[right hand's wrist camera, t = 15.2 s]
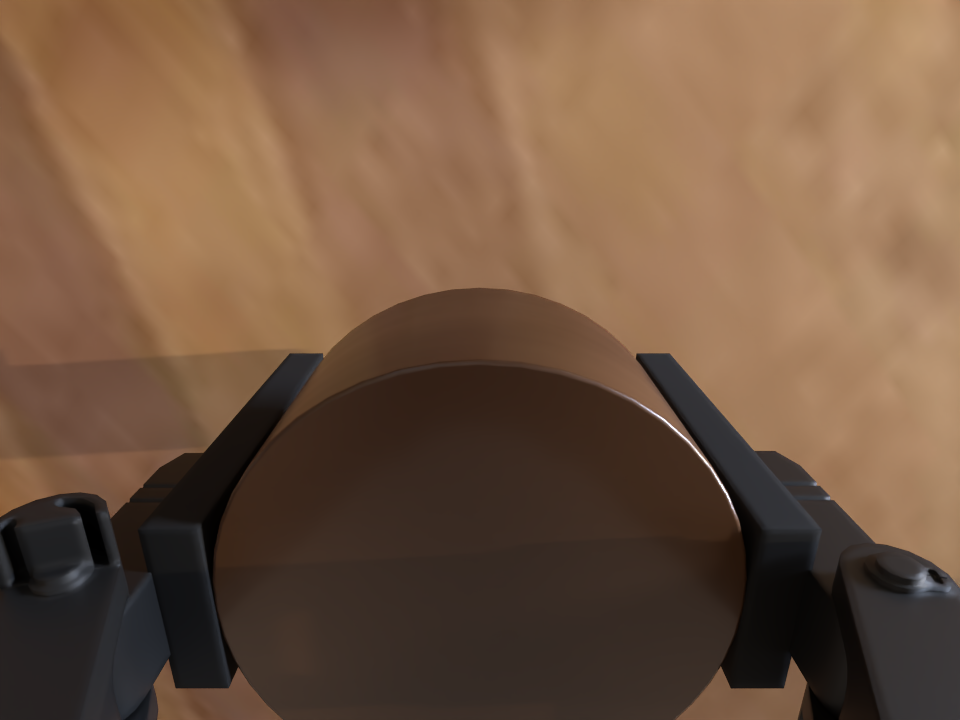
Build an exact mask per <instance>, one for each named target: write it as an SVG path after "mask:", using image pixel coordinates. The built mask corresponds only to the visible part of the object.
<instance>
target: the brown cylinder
mask: <svg viewBox="0 0 960 720" xmlns="http://www.w3.org/2000/svg"><path fill="white" fill-rule="evenodd" d="M212 582H213V590H214V599H215V607H216V612H217V615H218V619H219V623H220V626H221V630H222V633H223V636H224V638H225V641H226V643H227V645H228V647H229V649H230V652H231V654H232V656H233V658H234V660H235V662H236V664H237V665H238V667H239V668H240V670H241V671H242V673H243V675H244V676H245V678H246V679H247V681H248V682H249V684H250V685H251V686H252V687H253V689H254V690H255V691H256V692H257V693H258V695H259V696H260V697H261V698H262V699H263V700H264V702H265V703H266V704H267V705H268V706H269V707H270V708H271V709H272V710H273V711H274V712H275V713H277V714H278V715H279V716H280V717H281V718H282V719H283V720H675V719H676V718H678V717H679V716H680V715H681V714H682V713H683V712H684V711H685V710H686V709H687V708H688V707H689V706H690V705H692V703H693V702H694V701H695V700H696V699H697V698H698V696H699V695H700V694H701V693H702V692H703V690H704V689H705V688H706V687H707V686H708V685H709V683H710V682H711V680H712V679H713V677H714V676H715V674H716V673H717V671H718V669H719V668H720V666H721V665H722V663H723V662H724V660H725V658H726V656H727V654H728V651H729V649H730V647H731V645H732V643H733V640H734V638H735V636H736V633H737V630H738V626H739V623H740V619H741V615H742V610H743V605H744V600H745V592H746V583H747V570H746V550H745V545H744V540H743V536H742V531H741V527H740V522H739V519H738V516H737V514H736V512H735V509H734V507H733V504H732V502H731V499H730V497H729V494H728V492H727V490H726V489H725V487H724V485H723V484H722V482H721V480H720V479H719V477H718V476H717V474H716V472H715V471H714V469H713V467H712V466H711V464H710V463H709V461H708V460H707V458H706V457H705V456H704V454H703V453H702V451H701V450H700V449H699V447H698V446H697V444H696V443H695V441H694V440H693V439H692V437H691V436H690V434H689V433H688V431H687V430H686V429H685V427H684V426H683V424H682V423H681V422H680V420H679V419H678V417H677V416H676V414H675V413H674V412H673V410H672V409H671V407H670V406H669V404H668V403H667V402H666V400H665V399H664V397H663V396H662V394H661V393H660V392H659V390H658V389H657V387H656V386H655V385H654V383H653V382H652V380H651V379H650V377H649V376H648V375H647V373H646V372H645V370H644V369H643V367H642V366H641V365H640V364H639V362H638V361H637V360H636V359H635V358H634V356H633V355H632V354H631V353H630V352H629V351H628V349H627V348H626V347H625V346H624V345H623V344H622V343H621V342H619V341H618V340H617V339H616V338H615V337H614V336H613V335H612V334H610V333H609V332H608V331H607V330H606V329H604V328H603V327H601V326H600V325H598V324H597V323H595V322H594V321H592V320H591V319H589V318H588V317H586V316H585V315H583V314H581V313H579V312H577V311H575V310H573V309H571V308H569V307H566V306H564V305H562V304H560V303H557V302H554V301H551V300H548V299H545V298H542V297H539V296H536V295H532V294H527V293H522V292H517V291H512V290H504V289H489V288H470V289H455V290H447V291H442V292H437V293H432V294H427V295H423V296H420V297H417V298H414V299H411V300H408V301H405V302H402V303H399V304H397V305H395V306H393V307H390V308H388V309H386V310H384V311H382V312H380V313H378V314H376V315H374V316H373V317H371V318H370V319H368V320H367V321H365V322H364V323H362V324H361V325H359V326H358V327H356V328H355V329H353V330H352V331H351V332H350V333H348V334H347V335H346V336H345V337H344V338H343V339H342V340H341V341H340V342H338V343H337V344H336V345H335V346H334V347H333V348H332V349H331V350H330V352H329V353H328V354H327V355H326V356H325V357H324V359H323V360H322V361H321V362H320V363H319V365H318V366H317V367H316V369H315V370H314V372H313V373H312V374H311V376H310V377H309V379H308V380H307V382H306V383H305V385H304V386H303V387H302V389H301V390H300V392H299V393H298V395H297V396H296V398H295V399H294V400H293V402H292V403H291V405H290V406H289V408H288V409H287V411H286V412H285V414H284V415H283V416H282V418H281V419H280V421H279V422H278V424H277V425H276V427H275V428H274V429H273V431H272V432H271V434H270V435H269V437H268V438H267V440H266V441H265V443H264V444H263V445H262V447H261V448H260V450H259V451H258V453H257V454H256V456H255V457H254V458H253V460H252V461H251V463H250V464H249V466H248V467H247V469H246V471H245V472H244V474H243V475H242V477H241V479H240V480H239V482H238V484H237V485H236V487H235V489H234V490H233V492H232V494H231V496H230V499H229V501H228V504H227V506H226V509H225V511H224V513H223V516H222V518H221V521H220V525H219V529H218V534H217V538H216V543H215V547H214V558H213V577H212Z"/></svg>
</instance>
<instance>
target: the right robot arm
mask: <svg viewBox="0 0 960 720" xmlns="http://www.w3.org/2000/svg"><path fill="white" fill-rule="evenodd" d="M322 360H323V354H289V355H288V356H287V358H286V359H285V360H284V361H283V362H282V363H281V364H280V366H279V367H278V368H277V369H276V370H275V371H274V373H273V374H272V375H271V376H270V377H269V378H268V379H267V381H266V382H265V383H264V384H263V385H262V386H261V388H260V389H259V390H258V391H257V392H256V393H255V394H254V396H253V397H252V398H251V399H250V400H249V401H248V403H247V404H246V405H245V406H244V407H243V408H242V409H241V411H240V412H239V413H238V414H237V415H236V416H235V418H234V419H233V420H232V421H231V422H230V423H229V424H228V426H227V427H226V428H225V429H224V430H223V431H222V433H221V434H220V435H219V436H218V437H217V438H216V440H215V441H214V442H213V443H212V444H211V445H210V446H209V448H208V449H207V450H206V451H205V452H204V453H184V454H183V455H181V456H179V457H177V458H176V459H174V460H172V461H170V462H169V463H167V464H165V465H164V466H162V467H160V468H159V469H158V470H157V471H156V472H155V473H154V474H153V475H152V476H151V477H150V478H149V479H148V480H147V482H146V483H145V484H144V486H143V488H140V489H139V490H138V491H137V492H136V493H135V494H134V495H133V496H132V497H131V498H130V502H129V503H125V504H124V505H123V507H122V508H121V509H120V510H119V511H118V512H117V513H116V514H115V515H114V516H113V517H112V518H111V519H110V515H109V511H108V507H107V504H106V501H105V500H103V499H102V498H100V497H99V496H98V495H94V494H87V493H69V494H59V495H55V496H51V497H47V498H43V499H39V500H35V501H33V502H30V503H28V504H25V505H23V506H20V507H18V508H16V509H13V510H11V511H10V512H8V513H6V514H5V515H3V516H2V517H0V720H157V716H158V704H157V697H156V693H155V689H154V686H153V684H154V682H155V680H156V678H157V677H158V675H159V673H160V672H161V670H162V668H163V667H164V665H165V663H166V662H167V660H168V658H169V662H170V666H171V671H172V675H173V679H174V683H175V687H176V688H229V686H230V684H231V682H232V679H233V677H234V675H235V673H236V671H237V668H238V665H237V664H236V662H235V660H234V658H233V656H232V654H231V652H230V649H229V647H228V645H227V643H226V641H225V638H224V636H223V633H222V630H221V626H220V623H219V619H218V615H217V612H216V607H215V599H214V590H213V582H212V577H213V558H214V547H215V543H216V538H217V534H218V529H219V525H220V521H221V518H222V516H223V513H224V511H225V509H226V506H227V504H228V501H229V499H230V496H231V494H232V492H233V490H234V489H235V487H236V485H237V484H238V482H239V480H240V479H241V477H242V475H243V474H244V472H245V471H246V469H247V467H248V466H249V464H250V463H251V461H252V460H253V458H254V457H255V456H256V454H257V453H258V451H259V450H260V448H261V447H262V445H263V444H264V443H265V441H266V440H267V438H268V437H269V435H270V434H271V432H272V431H273V429H274V428H275V427H276V425H277V424H278V422H279V421H280V419H281V418H282V416H283V415H284V414H285V412H286V411H287V409H288V408H289V406H290V405H291V403H292V402H293V400H294V399H295V398H296V396H297V395H298V393H299V392H300V390H301V389H302V387H303V386H304V385H305V383H306V382H307V380H308V379H309V377H310V376H311V374H312V373H313V372H314V370H315V369H316V367H317V366H318V365H319V363H320V362H321V361H322ZM636 360H637V361H638V362H639V364H640V365H641V366H642V367H643V369H644V370H645V372H646V373H647V375H648V376H649V377H650V379H651V380H652V382H653V383H654V385H655V386H656V387H657V389H658V390H659V392H660V393H661V394H662V396H663V397H664V399H665V400H666V402H667V403H668V404H669V406H670V407H671V409H672V410H673V412H674V413H675V414H676V416H677V417H678V419H679V420H680V422H681V423H682V424H683V426H684V427H685V429H686V430H687V431H688V433H689V434H690V436H691V437H692V439H693V440H694V441H695V443H696V444H697V446H698V447H699V449H700V450H701V451H702V453H703V454H704V456H705V457H706V458H707V460H708V461H709V463H710V464H711V466H712V467H713V469H714V471H715V472H716V474H717V476H718V477H719V479H720V480H721V482H722V484H723V485H724V487H725V489H726V490H727V492H728V494H729V497H730V499H731V502H732V504H733V507H734V509H735V512H736V514H737V516H738V519H739V522H740V527H741V531H742V536H743V540H744V545H745V550H746V570H747V583H746V592H745V600H744V605H743V610H742V615H741V619H740V623H739V626H738V630H737V633H736V636H735V638H734V640H733V643H732V645H731V647H730V649H729V651H728V654H727V656H726V658H725V660H724V662H723V663H722V665H721V667H722V669H723V672H724V674H725V676H726V678H727V680H728V683H729V685H730V687H731V688H784V685H785V681H786V677H787V673H788V669H789V665H790V660H791V656H792V658H793V659H794V661H795V663H796V664H797V666H798V668H799V669H800V671H801V673H802V674H803V676H804V678H805V679H806V681H807V686H806V689H805V693H804V697H803V701H802V705H801V709H800V713H799V717H798V720H960V588H959V587H958V586H957V585H956V583H955V582H954V581H953V580H952V578H951V577H950V576H949V575H948V574H947V573H945V572H944V571H943V570H941V569H940V568H938V567H937V566H936V565H934V564H933V563H932V562H930V561H928V560H926V559H924V558H922V557H919V556H917V555H915V554H913V553H911V552H909V551H906V550H902V549H899V548H895V547H892V546H888V545H882V544H875V542H874V541H873V540H872V539H871V538H870V537H869V536H868V535H867V534H866V533H865V532H864V531H863V530H862V529H861V528H860V527H859V526H858V525H857V524H856V523H855V522H854V521H853V520H852V519H851V518H850V517H849V516H848V515H847V514H846V513H845V511H844V510H843V509H842V508H841V507H840V506H839V505H838V504H837V503H836V502H835V501H834V500H830V496H829V495H828V494H827V493H826V492H825V491H824V490H823V489H822V488H821V487H820V486H817V485H816V482H815V480H814V479H813V478H812V477H811V476H810V475H809V474H808V473H807V472H806V471H805V470H804V469H803V468H802V467H801V466H800V465H798V464H796V463H795V462H793V461H791V460H789V459H788V458H786V457H784V456H783V455H781V454H779V453H777V452H776V451H754V450H753V449H752V448H751V447H750V446H749V445H748V444H747V442H746V441H745V440H744V439H743V438H742V437H741V435H740V434H739V433H738V432H737V431H736V430H735V429H734V427H733V426H732V425H731V424H730V423H729V422H728V420H727V419H726V418H725V417H724V416H723V415H722V414H721V412H720V411H719V410H718V409H717V408H716V407H715V405H714V404H713V403H712V402H711V401H710V400H709V399H708V397H707V396H706V395H705V394H704V393H703V392H702V390H701V389H700V388H699V387H698V386H697V385H696V384H695V382H694V381H693V380H692V379H691V378H690V377H689V375H688V374H687V373H686V372H685V371H684V370H683V369H682V367H681V366H680V365H679V364H678V363H677V362H676V360H675V359H674V358H673V357H672V356H671V355H670V354H637V355H636Z"/></svg>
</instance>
